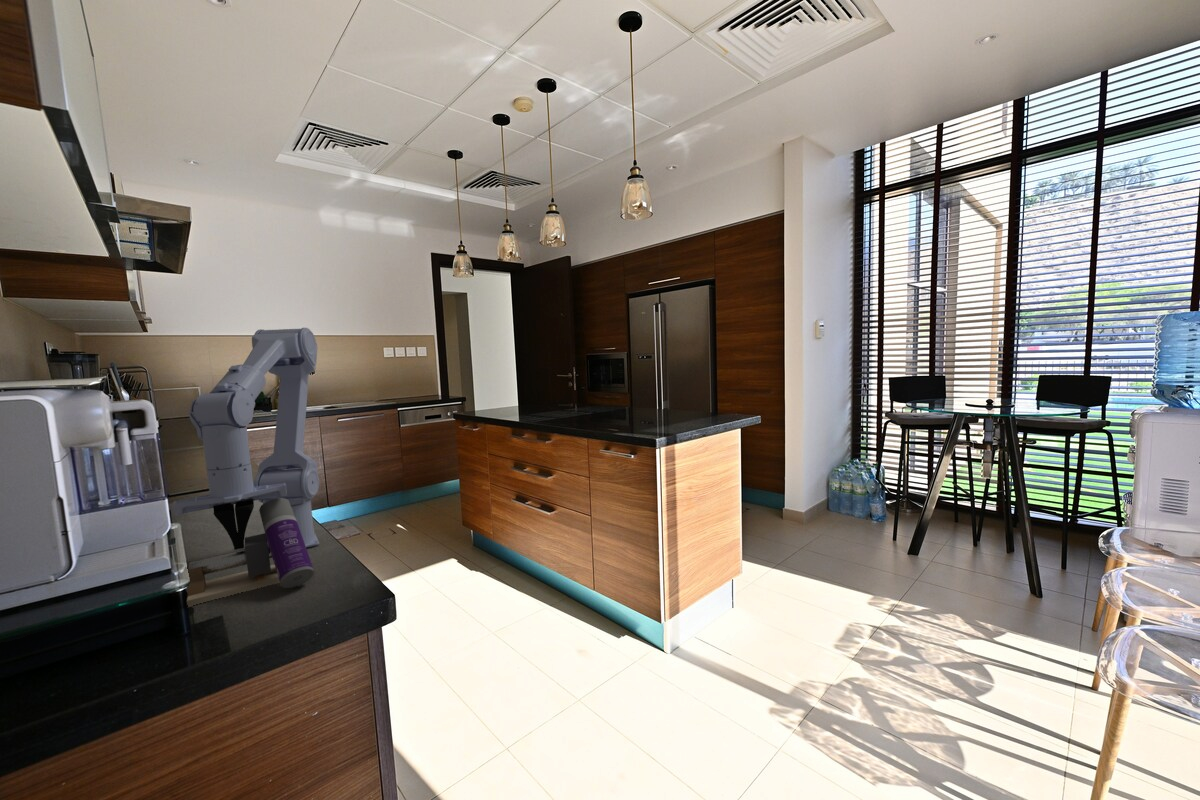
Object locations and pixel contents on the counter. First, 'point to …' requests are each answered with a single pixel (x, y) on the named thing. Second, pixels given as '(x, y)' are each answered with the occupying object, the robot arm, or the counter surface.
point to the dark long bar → (222, 562)
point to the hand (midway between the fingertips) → (239, 547)
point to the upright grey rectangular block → (257, 555)
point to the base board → (225, 584)
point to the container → (286, 543)
